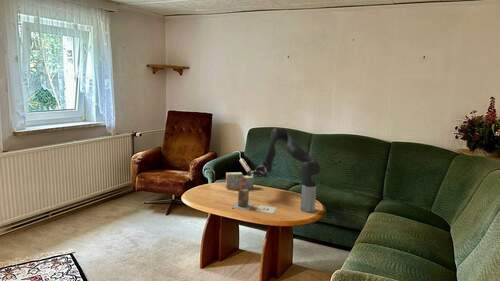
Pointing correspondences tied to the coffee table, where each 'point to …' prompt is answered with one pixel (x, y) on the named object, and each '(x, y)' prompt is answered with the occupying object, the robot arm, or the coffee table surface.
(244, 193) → the walnut block
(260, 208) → the white tile
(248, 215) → the coffee table surface
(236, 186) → the stack of blocks
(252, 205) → the grey mat
